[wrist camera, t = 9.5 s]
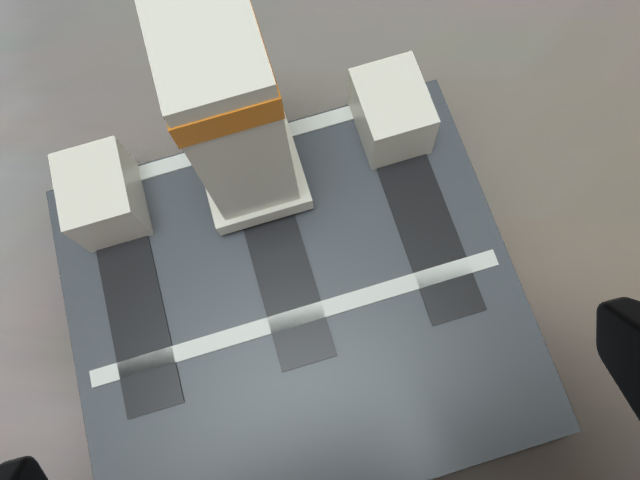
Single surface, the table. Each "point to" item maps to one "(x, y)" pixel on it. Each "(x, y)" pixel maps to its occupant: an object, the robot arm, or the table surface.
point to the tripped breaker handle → (224, 108)
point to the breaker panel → (303, 308)
